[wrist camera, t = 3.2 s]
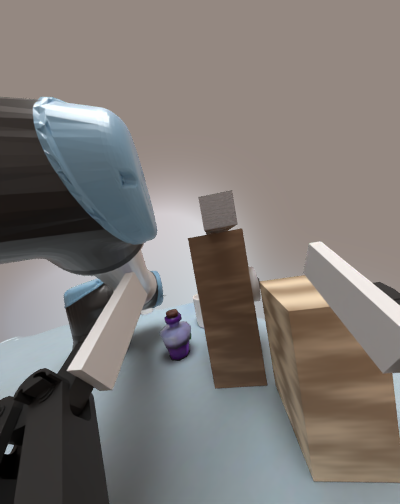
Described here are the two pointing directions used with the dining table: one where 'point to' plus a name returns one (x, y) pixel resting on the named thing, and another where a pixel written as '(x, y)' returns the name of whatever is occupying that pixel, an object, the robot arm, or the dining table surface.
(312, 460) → the oak block
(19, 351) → the dining table surface
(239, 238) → the post
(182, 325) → the potion bottle
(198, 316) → the cup
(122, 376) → the dining table surface
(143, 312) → the beige pointed piece
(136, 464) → the dining table surface
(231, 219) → the grey long bar
